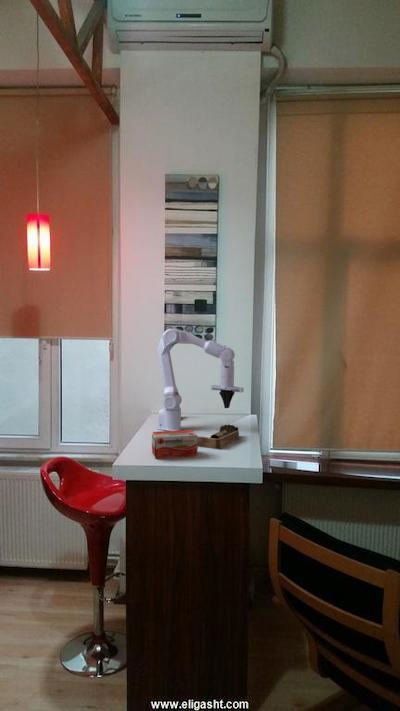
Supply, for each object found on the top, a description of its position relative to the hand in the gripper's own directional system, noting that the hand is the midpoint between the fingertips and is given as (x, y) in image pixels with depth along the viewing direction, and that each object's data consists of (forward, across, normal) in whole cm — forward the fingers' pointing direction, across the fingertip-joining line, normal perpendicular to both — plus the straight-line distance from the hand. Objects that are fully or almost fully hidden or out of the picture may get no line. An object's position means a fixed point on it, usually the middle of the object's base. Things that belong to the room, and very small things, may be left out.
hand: (226, 407), depth 210 cm
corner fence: (+10, +4, -20) cm, 23 cm away
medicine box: (+11, +1, -43) cm, 45 cm away
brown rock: (+11, +6, -14) cm, 19 cm away
